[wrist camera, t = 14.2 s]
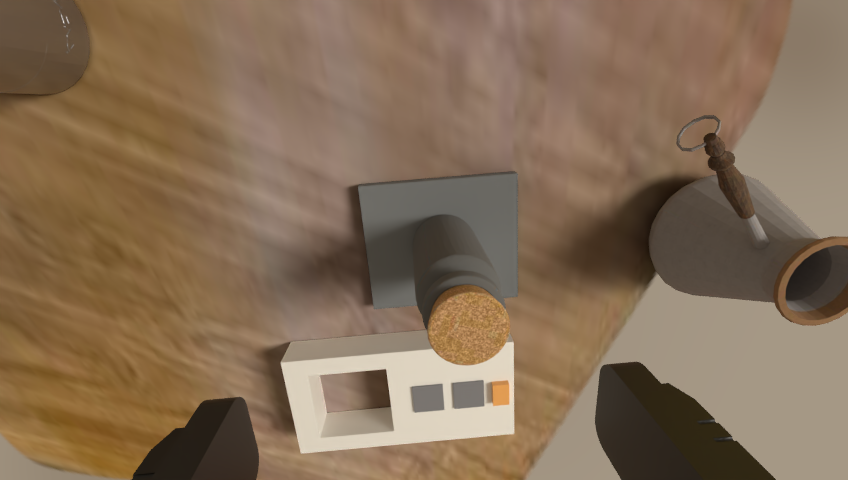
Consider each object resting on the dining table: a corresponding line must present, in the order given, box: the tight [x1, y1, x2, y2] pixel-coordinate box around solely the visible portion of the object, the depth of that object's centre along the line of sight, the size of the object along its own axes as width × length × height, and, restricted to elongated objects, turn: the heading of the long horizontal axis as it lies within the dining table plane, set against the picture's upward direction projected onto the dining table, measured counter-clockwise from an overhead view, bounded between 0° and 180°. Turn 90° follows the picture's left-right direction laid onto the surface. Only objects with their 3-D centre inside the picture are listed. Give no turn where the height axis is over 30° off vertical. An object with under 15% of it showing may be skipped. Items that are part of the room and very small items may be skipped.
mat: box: [358, 171, 518, 309], centre depth 37 cm, size 14×12×1 cm
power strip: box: [281, 330, 514, 453], centre depth 40 cm, size 22×11×4 cm, turn 94°
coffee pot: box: [649, 115, 848, 325], centre depth 30 cm, size 21×12×15 cm, turn 50°
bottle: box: [413, 214, 510, 366], centre depth 29 cm, size 6×6×15 cm
